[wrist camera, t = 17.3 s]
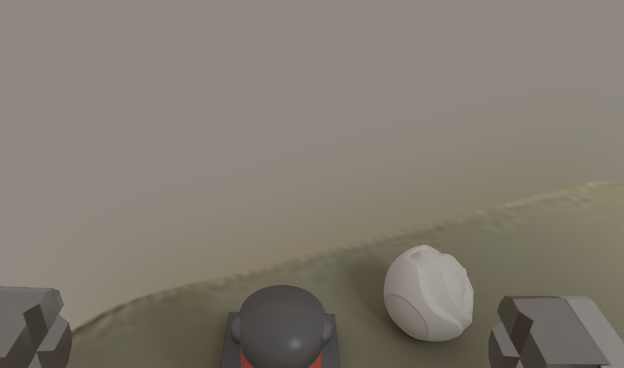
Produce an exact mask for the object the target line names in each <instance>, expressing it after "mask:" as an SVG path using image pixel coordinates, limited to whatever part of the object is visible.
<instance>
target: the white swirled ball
mask: <svg viewBox="0 0 624 368" xmlns="http://www.w3.org/2000/svg"><path fill="white" fill-rule="evenodd" d="M473 296H474V291H473V288H472V285H471V283H470V281H469V278H468V276H467V274H466V269H465V268H463V267H462V266H461V265H460V263H459V262H458V261H457V260H456V259H455V258H454V257H453V256H451V255H449V254H444V253H440V252H439V251H437V250H435V249H434V248H432V247H430V246H428V245H419V246H415V247H412V248H410V249H408V250H406V251H405V252H403V253H402V254H401V255H399V256H398V257H397V258H396V259H395V260H394V262H393V263H392V264H391V266H390V268H389V270H388V272H387V275H386V278H385V283H384V302H385V306H386V309H387V311H388V313H389V315H390V316H391V318H392V319H393V321H394V322H395V323H396V324H397V325H398V326H399V327H400V328H401V329H402V330H403V331H404V332H406V333H407V334H408V335H410V336H412V337H413V338H416V339H419V340H423V341H432V342H437V341H445V340H449V339H452V338H455V337H458V336H460V335H461V334H462V332H463V331H464V330H465V329H466V328H467V327H468V326H469V325H470V324H471V323H472V321H473V320H472V310H473Z"/></svg>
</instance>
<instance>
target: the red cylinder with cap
mask: <svg viewBox="0 0 624 368" xmlns="http://www.w3.org/2000/svg"><path fill="white" fill-rule="evenodd" d="M324 321H325V313H324V309H323V306H322V304H321V303H320V301H319V300H318V299H317V298H316V297H315V296H314V295H313V294H311V293H310V292H308V291H306V290H304V289H301V288H298V287H294V286H288V285H277V286H270V287H266V288H263V289H261V290H258V291H256V292H255V293H253V294H252V295H250V296H249V297H248V298H247V299H246V300H245V302H244V303H243V305H242V307H241V310H240V352H241V368H320V366H321V354H322V343H323V332H324Z"/></svg>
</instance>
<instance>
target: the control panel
mask: <svg viewBox="0 0 624 368" xmlns="http://www.w3.org/2000/svg"><path fill="white" fill-rule="evenodd" d="M221 368H241V352H240V312H229V317H228V323H227V330H226V336H225V342H224V349H223V355H222V361H221ZM320 368H339V357H338V346H337V335H336V324H335V314H325V321H324V332H323V343H322V354H321V366H320Z"/></svg>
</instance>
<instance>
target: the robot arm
mask: <svg viewBox="0 0 624 368" xmlns="http://www.w3.org/2000/svg"><path fill="white" fill-rule="evenodd" d="M63 305H64V304H63V301H62V299H61V296H60V292H59V291H58V290H55V289H53V288H30V287H6V286H0V368H65V367H66V365H67V363H68V360H69V355H70V351H71V346H72V340H71V330H70V326H69V323H68V322H67V321H66V320H65V319H63V318H62V317H61V316H60V315H59V312H60V310H61V308H62V307H63ZM497 312H498V314H499V316H500V318H501V320H502V321H501V322H500V323H499V324H497V325H496V326H495V327H494V328H492V331H491V335H490V338H489V360H490V364H491V368H624V343H623V341H622V340H621V338H620V337H619V336H618V334H617V333H616V332H615V330H614V329H613V327H612V326H611V325H610V323H609V322H608V321H607V319H606V318H605V316H604V315H603V314H602V312H601V311H600V310H599V308H598V307H597V305H596V304H595V303H594V301H593V300H591V299H590V298H588V297H587V296H558V297H556V296H505V297H504V298H503V299H502V300H501V302H500V305H499V308H498V311H497Z"/></svg>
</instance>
